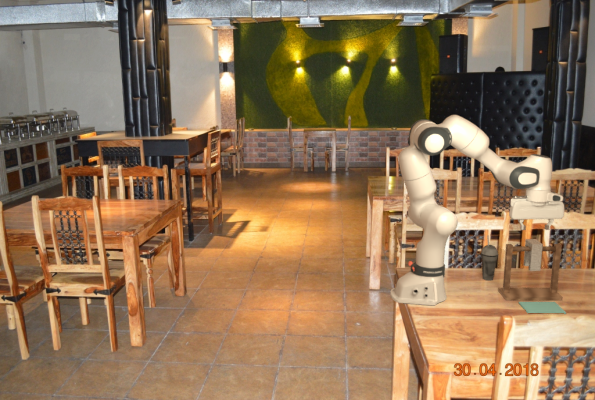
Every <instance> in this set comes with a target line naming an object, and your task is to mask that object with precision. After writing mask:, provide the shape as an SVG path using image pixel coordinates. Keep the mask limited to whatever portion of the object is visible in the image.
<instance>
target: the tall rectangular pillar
mask: <svg viewBox="0 0 595 400" xmlns="http://www.w3.org/2000/svg"><path fill="white" fill-rule="evenodd" d="M524 246H528V247H530V251H523V252H524V254H523V255H524V256H523V266H524V267H528V271H529V272H541V268H542V267H541V266H542V255H543V251H542V246H544V244H543V243H541V242H540V241H539V240H537V239H536V238H525V243H524Z"/></svg>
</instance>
